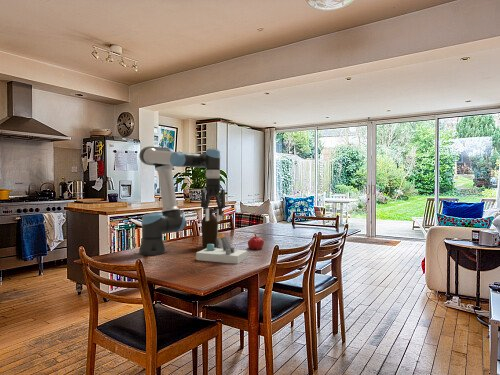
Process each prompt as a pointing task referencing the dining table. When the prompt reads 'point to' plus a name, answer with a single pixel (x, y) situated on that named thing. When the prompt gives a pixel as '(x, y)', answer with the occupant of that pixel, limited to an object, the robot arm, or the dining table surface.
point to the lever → (225, 241)
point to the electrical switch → (220, 243)
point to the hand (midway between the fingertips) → (213, 220)
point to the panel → (222, 255)
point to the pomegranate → (255, 242)
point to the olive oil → (209, 230)
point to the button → (210, 247)
